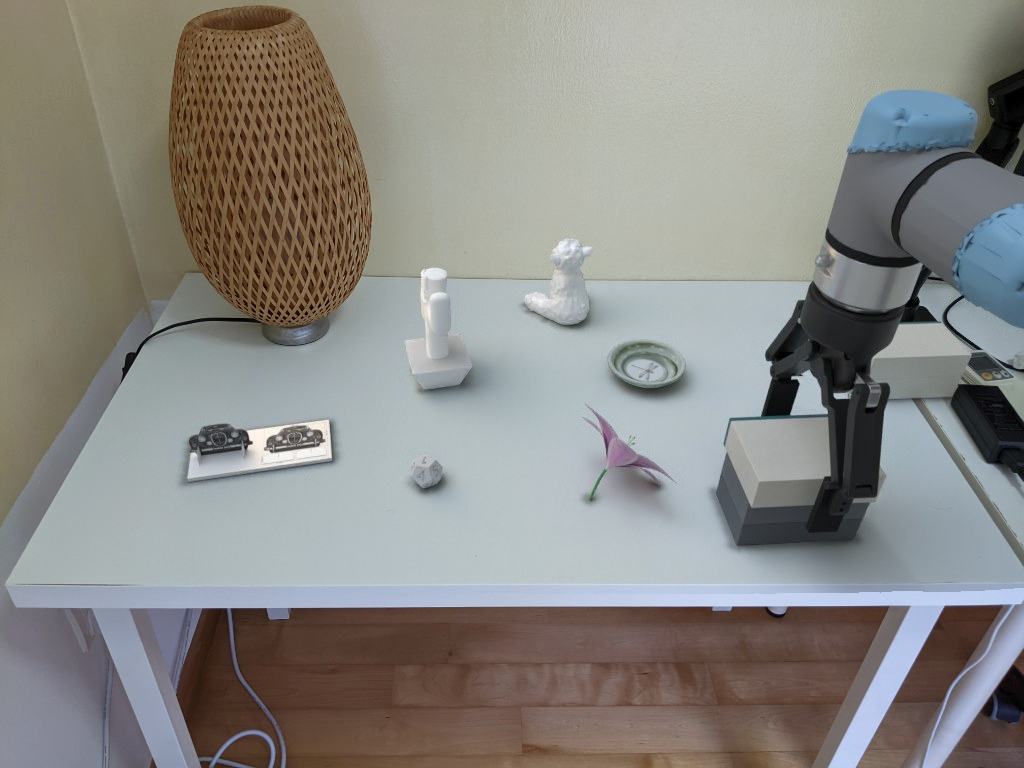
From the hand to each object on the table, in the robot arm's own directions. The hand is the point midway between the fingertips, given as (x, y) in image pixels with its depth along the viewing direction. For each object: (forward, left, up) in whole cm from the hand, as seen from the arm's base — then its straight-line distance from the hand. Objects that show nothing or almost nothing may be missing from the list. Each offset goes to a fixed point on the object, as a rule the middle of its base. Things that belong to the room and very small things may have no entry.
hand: (794, 476), depth 76 cm
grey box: (0, 0, -5) cm, 5 cm away
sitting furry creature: (+43, -1, -6) cm, 43 cm away
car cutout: (+35, +44, -6) cm, 56 cm away
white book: (0, 0, +1) cm, 1 cm away
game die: (+22, +30, -6) cm, 38 cm away
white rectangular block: (+10, -29, -5) cm, 31 cm away
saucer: (+26, -2, -6) cm, 26 cm away
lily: (+12, +12, -6) cm, 18 cm away
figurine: (+38, +21, -6) cm, 44 cm away
